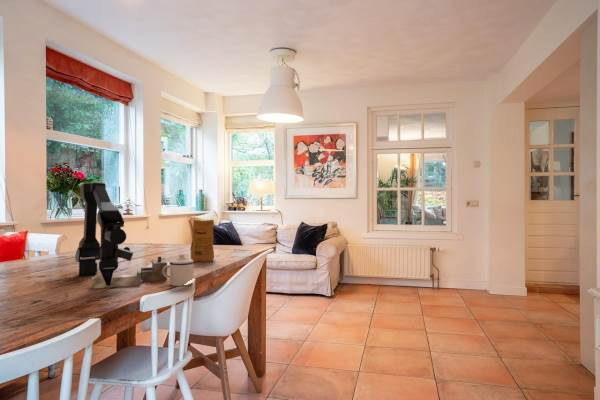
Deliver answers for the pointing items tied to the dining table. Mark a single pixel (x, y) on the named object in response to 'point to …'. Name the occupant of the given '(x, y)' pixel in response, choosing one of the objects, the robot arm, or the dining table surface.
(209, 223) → the coffee package
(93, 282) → the rail
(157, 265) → the knobbed grey box
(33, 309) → the dining table surface
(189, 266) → the teacup with lid
